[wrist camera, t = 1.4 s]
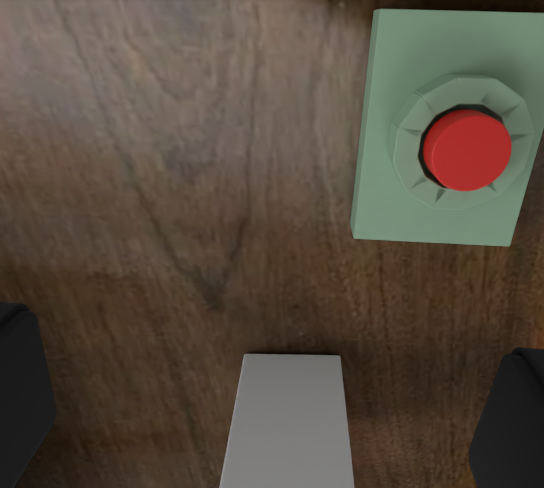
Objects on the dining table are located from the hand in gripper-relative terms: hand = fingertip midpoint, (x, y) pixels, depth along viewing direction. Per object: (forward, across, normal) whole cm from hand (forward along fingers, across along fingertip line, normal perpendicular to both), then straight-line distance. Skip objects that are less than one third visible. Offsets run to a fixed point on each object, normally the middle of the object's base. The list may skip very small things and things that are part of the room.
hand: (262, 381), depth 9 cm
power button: (+16, -8, -2) cm, 18 cm away
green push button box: (+19, -8, -2) cm, 21 cm away
